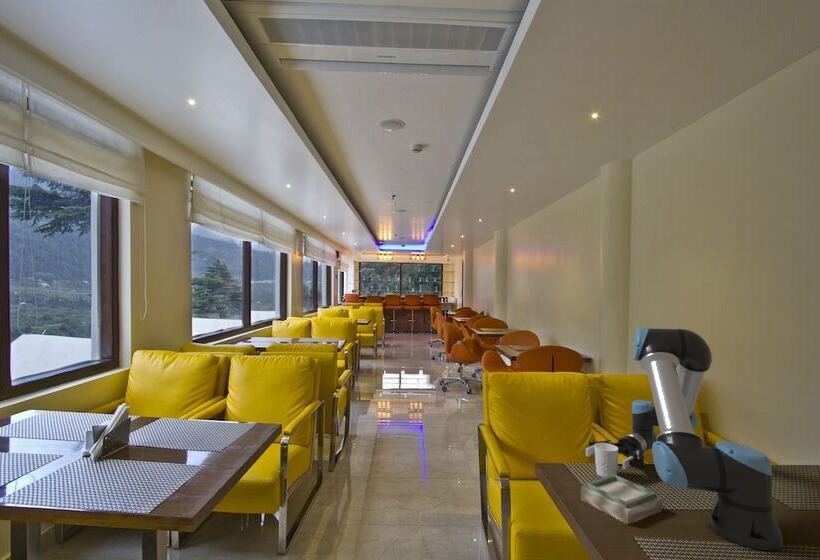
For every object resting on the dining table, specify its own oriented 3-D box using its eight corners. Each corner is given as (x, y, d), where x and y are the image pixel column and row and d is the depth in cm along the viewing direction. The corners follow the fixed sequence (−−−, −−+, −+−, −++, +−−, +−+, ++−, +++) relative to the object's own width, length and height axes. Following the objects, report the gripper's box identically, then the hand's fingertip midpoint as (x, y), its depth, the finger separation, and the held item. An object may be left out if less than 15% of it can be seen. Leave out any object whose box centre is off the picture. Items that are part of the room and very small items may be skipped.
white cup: (613, 470, 148) (613, 443, 149) (622, 480, 140) (622, 451, 141) (591, 469, 149) (591, 442, 149) (599, 479, 141) (598, 450, 142)
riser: (662, 511, 120) (661, 493, 120) (628, 525, 113) (627, 506, 113) (613, 488, 134) (613, 472, 135) (580, 499, 127) (580, 482, 127)
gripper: (667, 465, 147) (641, 482, 134) (600, 445, 167) (572, 457, 154) (666, 445, 147) (640, 459, 135) (600, 427, 167) (572, 438, 155)
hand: (604, 458), depth 145 cm, fingers open, 13 cm apart
